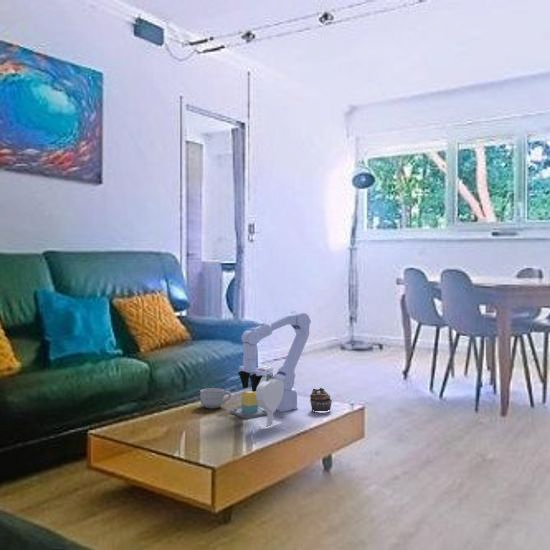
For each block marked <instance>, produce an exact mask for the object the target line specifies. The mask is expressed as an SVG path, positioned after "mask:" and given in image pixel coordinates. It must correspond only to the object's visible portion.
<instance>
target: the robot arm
mask: <svg viewBox="0 0 550 550" xmlns="http://www.w3.org/2000/svg"><path fill="white" fill-rule="evenodd" d="M311 322H312V321H311V318H310V316H309V314H307V313H305V312H298V311H296V310H295V311H291V312H289V313H288V312H287V313H286V314H285V315H283V316H282V317H279V318H277V319H276V320H274V321H272V322H270V323H268V322H265V323H264V322H261V323H260V325H258V326H256V327H252V328H251V330H249V329H248V330H245V331H243V333H242V335H241V337H240V339H241V342H242V343H243V347H242V348H243V353H242V354H243V355H242V358H243V359H242V361H243V364H242V365H239V367H238V368H239V372H237V375H238V376H239V378H240V381H241V384H242V385H241V386H242V388H243V389H248V387H249V381H250V383H251V391H253V392H256V388H257V386H258V385H259V382H260V380H261V378H262V375H261V371H260V370H258V369H257V368H258V367H257V364H258V363H257V362H258V361H257V358H258V350H257V346H258V345H257V344H258V343H259V342H260V341H261V340H264V339H265V338H266V337H269V336H271V335H272V334H273V331H275V330H277V329H280V328H282V327H285V326H287V325H290V326H291V327H292V328H293V329H294V332H295V337H294V339H293V341H292V344H291V346H290V349H289V350H288V353H287V356H286V358H285V359H284V360H285V361H284V362H283V365H282V366H281V367H279V368H278V370H277V371H276V373H275V374H273V379H276V380H282V381H283V382H284V393H283V397H282V400H281V402H280V404H279V406H278V407H277V410H276V411H278V410H279V411H278V412H281V411H282V412H285V411H284V410H288V411H291V410H290V409H294V410H297V409H296V408H298V393H297V390H296V389H295V388H294V385H295V379H296V373H295V369H296V368H297V365H298V363H299V360H300V358H301V355H302V353H303V350H304V349H305V346H306V343H307V340H308V339H309V336H310V324H311Z"/></svg>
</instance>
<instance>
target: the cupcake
mask: <svg viewBox="0 0 550 550" xmlns="http://www.w3.org/2000/svg"><path fill="white" fill-rule="evenodd" d="M309 396H310V400H309V401H310V402H309V403H310V406H311V411H312V410H314V411H328V410H330V411H331V408H332V403H333V400H332V399H331V395H330V394H329V393H328V392H327V391H326V390H325V388H322V387H319V389H316V388H313V389H312V391H311V394H310V395H309Z"/></svg>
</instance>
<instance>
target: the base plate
mask: <svg viewBox="0 0 550 550" xmlns="http://www.w3.org/2000/svg"><path fill="white" fill-rule="evenodd" d="M230 414H232V415H235V416H238V417H240V418H242V419H244V420H248V419H252V418H253V419H254V418H257V417H258V418H260V417H264V416H263V415H266V416H267V412H266V411H265V410H264V409H262V408H261V407H260V408H259V404H258V405H252V406H246V405H243V404H242V403H241V407H240V408H233V409H230ZM259 416H260V417H259Z"/></svg>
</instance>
